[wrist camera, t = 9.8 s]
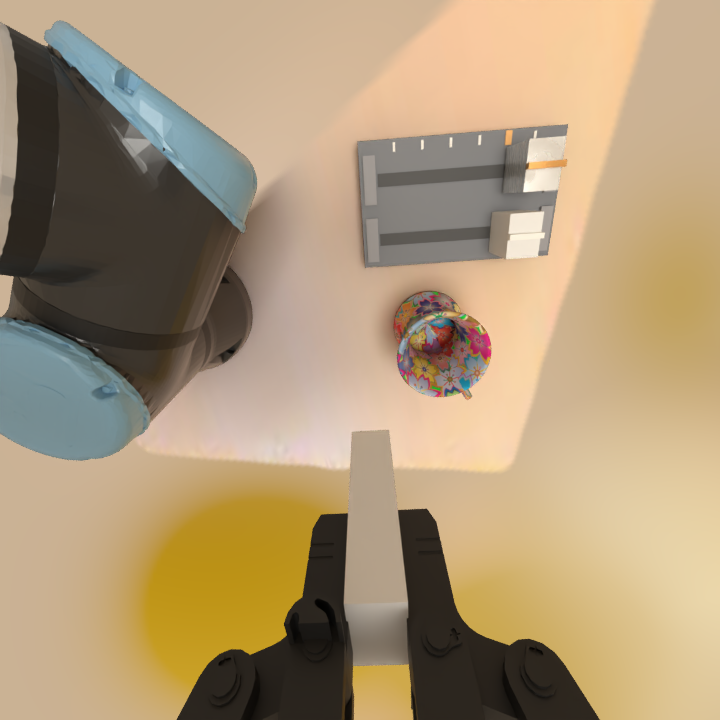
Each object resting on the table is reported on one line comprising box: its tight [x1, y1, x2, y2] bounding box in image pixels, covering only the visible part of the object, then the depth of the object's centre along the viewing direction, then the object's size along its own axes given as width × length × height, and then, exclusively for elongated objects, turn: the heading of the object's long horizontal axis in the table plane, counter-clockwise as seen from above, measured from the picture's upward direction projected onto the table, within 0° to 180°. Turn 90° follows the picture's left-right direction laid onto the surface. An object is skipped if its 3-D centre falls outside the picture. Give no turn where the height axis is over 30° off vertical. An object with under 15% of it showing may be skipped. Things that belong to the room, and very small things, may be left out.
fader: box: [503, 136, 567, 193], centre depth 31 cm, size 3×4×6 cm
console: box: [358, 124, 568, 268], centre depth 34 cm, size 20×12×8 cm, turn 94°
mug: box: [394, 291, 491, 399], centre depth 39 cm, size 12×9×11 cm
